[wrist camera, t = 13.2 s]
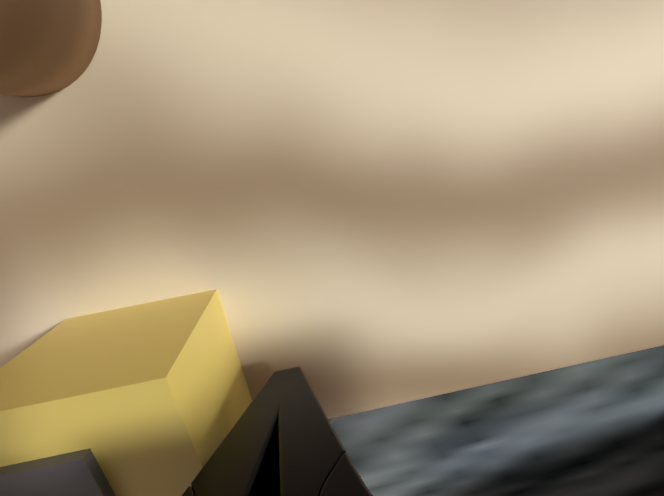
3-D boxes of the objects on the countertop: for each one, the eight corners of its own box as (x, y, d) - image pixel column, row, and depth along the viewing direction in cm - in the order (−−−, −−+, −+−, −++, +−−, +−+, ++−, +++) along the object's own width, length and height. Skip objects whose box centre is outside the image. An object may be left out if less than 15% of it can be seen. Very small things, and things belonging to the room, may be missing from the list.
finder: (262, 431, 10) (242, 579, 7) (134, 458, 10) (48, 622, 7) (216, 289, 9) (161, 385, 5) (66, 318, 9) (-93, 437, 5)
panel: (644, 411, 13) (672, 432, 12) (-24, 562, 12) (-52, 597, 11) (776, -528, 6) (863, -651, 5) (-730, -288, 5) (-946, -377, 4)
